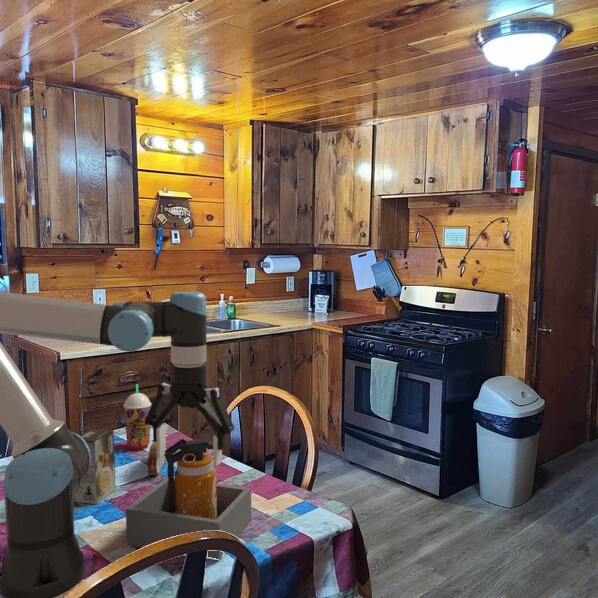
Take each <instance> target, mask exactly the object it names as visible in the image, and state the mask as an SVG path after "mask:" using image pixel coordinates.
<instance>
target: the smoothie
mask: <svg viewBox="0 0 598 598" xmlns="http://www.w3.org/2000/svg"><path fill="white" fill-rule="evenodd" d="M151 406H152V402H151V401H150V399H149V397H148V396H147V395H146V394H144V393H143V392H142V393H141V392H139V384H138V383H137V384H135V392H134V393H132V394H130V395H129V396H128V397H126V399H125V402H124V404H123V412H124V423H125V435H126V444H127V446H128V448H129V449H130V450H132V451H141V449H142V450H145V449H147V448H148V447H149V444H150V443H151V442H150V441H151V425H149V424H145V419H146V417H147V415H148V413H149V411H150V409H151Z"/></svg>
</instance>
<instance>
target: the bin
mask: <svg viewBox="0 0 598 598" xmlns="http://www.w3.org/2000/svg"><path fill="white" fill-rule="evenodd" d="M174 498H175V477H174ZM216 499H217V519H216V520H215V519H209V518H202V517H196V516H189V515H183V514H176V513H169V512H167V511H166V509H167V505H168V504H169V486H168V476H166V478H165V479H163V480H162V481H160V482H159V483H157V485H155V486H154V487H153V488H151V489H150V490H149V491H147V492H146V493H144V494H143V495H142V496H141V497H139V498H138V499H137V500H136V501H134V502H133V503H131V504H130V505H129V506H128V507H126V508H125V523H126V524H125V525H126V527H125V528H126V531H125V532H126V546H129V547H130V546H131V547H134V548H135V547H136V548H141V547H143V546H145V545H148V544H151V543H153V542H156V541H159V540H162V539H166V538H169V537H172V536H176V535H180V534H185V533H190V532H196V531H203V530H222V531H225V532H228V533H231V534H233V535H235V536H237V537H239V538H240V536H241V535H242V534H243V533H242V531H243V530H244V529H245V528H246V527H247V525H248V524H249V523H250V522H251V523H252V488H251V487H245V486H237V485H230V484H229V485H228V484H221V483H216ZM251 523H250V524H251ZM250 524H249V525H250ZM249 525H248V526H249ZM247 528H248V527H247ZM247 528H246V529H247ZM246 529H245V530H246ZM245 530H244V531H245ZM241 533H242V534H241ZM240 534H241V535H240ZM239 535H240V536H239ZM222 555H223V552H220V551H208V557H212V558H216V559H219V560H220V558H221V557H222ZM220 561H221V560H220Z"/></svg>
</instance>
